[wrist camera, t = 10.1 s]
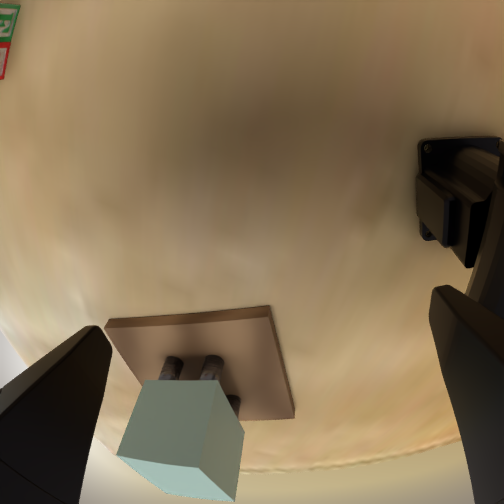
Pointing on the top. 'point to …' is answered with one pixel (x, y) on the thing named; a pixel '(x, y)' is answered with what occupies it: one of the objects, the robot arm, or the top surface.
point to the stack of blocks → (6, 32)
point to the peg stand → (212, 356)
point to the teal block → (185, 439)
